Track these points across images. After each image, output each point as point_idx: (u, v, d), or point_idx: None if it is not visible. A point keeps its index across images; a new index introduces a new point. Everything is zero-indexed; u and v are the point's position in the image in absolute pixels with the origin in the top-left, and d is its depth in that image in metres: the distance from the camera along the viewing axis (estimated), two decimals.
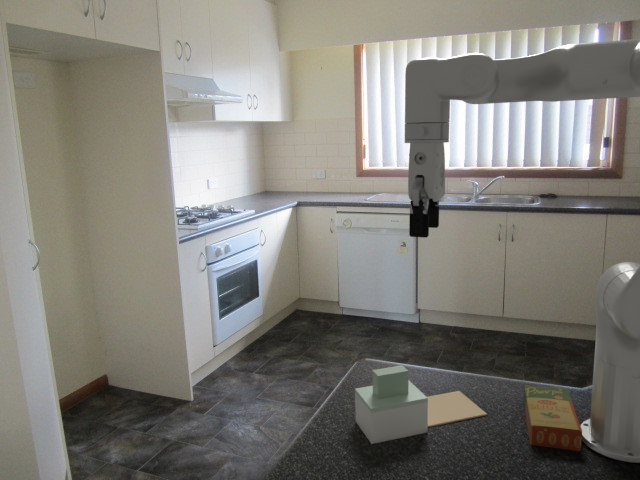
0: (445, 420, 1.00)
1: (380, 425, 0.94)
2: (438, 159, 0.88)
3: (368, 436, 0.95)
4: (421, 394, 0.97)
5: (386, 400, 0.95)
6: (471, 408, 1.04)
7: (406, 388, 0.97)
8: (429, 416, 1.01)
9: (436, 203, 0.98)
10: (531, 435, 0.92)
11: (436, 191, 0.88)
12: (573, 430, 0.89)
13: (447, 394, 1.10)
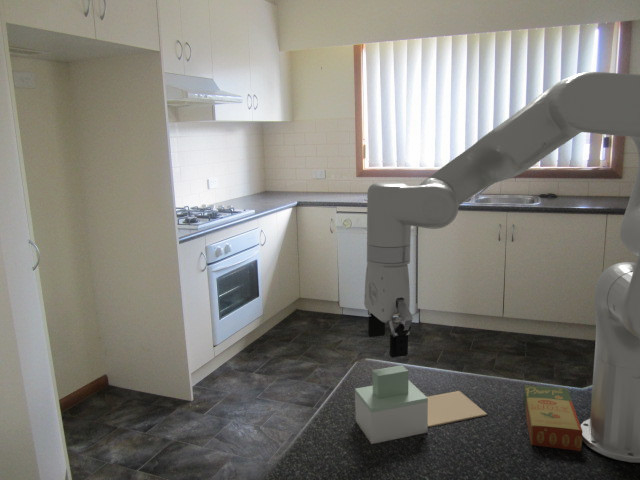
0: (445, 420, 1.00)
1: (380, 425, 0.94)
2: (367, 273, 0.96)
3: (368, 436, 0.95)
4: (421, 394, 0.97)
5: (386, 400, 0.95)
6: (471, 408, 1.04)
7: (406, 388, 0.97)
8: (429, 416, 1.01)
9: None
10: (531, 435, 0.92)
11: (365, 299, 0.98)
12: (573, 429, 0.89)
13: (447, 394, 1.10)
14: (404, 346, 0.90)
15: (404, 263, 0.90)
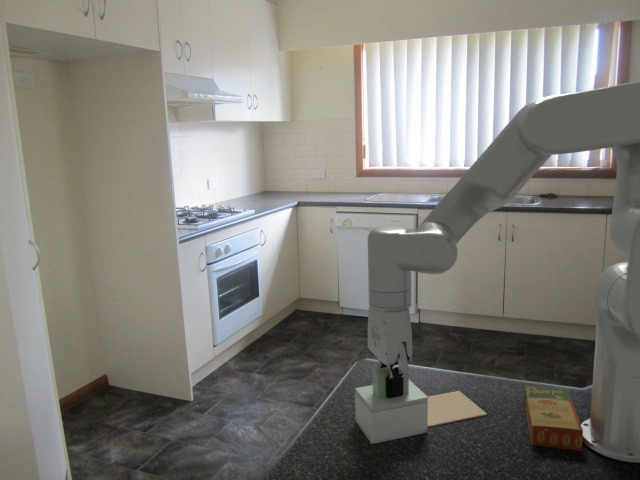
0: (445, 420, 1.00)
1: (380, 425, 0.94)
2: (369, 315, 0.97)
3: (368, 436, 0.95)
4: (421, 393, 0.97)
5: (386, 399, 0.95)
6: (471, 408, 1.04)
7: (406, 387, 0.97)
8: (429, 416, 1.01)
9: None
10: (532, 435, 0.92)
11: (368, 340, 0.99)
12: (574, 429, 0.89)
13: (447, 394, 1.10)
14: (399, 387, 0.95)
15: (405, 307, 0.91)
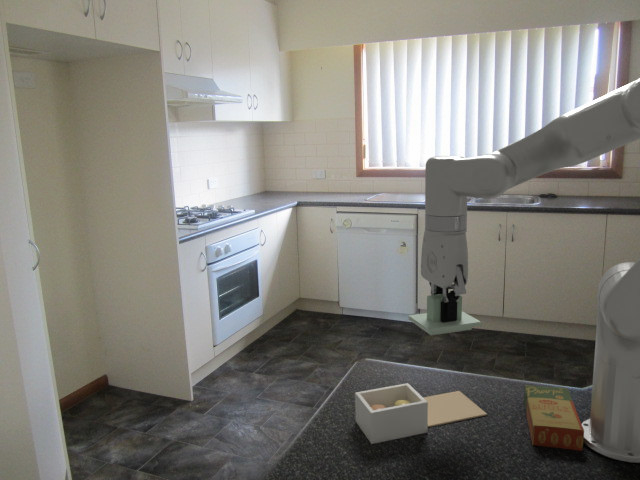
0: (445, 420, 1.00)
1: (380, 425, 0.94)
2: (424, 243, 1.01)
3: (368, 436, 0.95)
4: (474, 319, 1.00)
5: (441, 323, 0.99)
6: (471, 408, 1.04)
7: (459, 313, 1.00)
8: (429, 416, 1.01)
9: None
10: (533, 435, 0.91)
11: (421, 269, 1.03)
12: (575, 429, 0.89)
13: (447, 394, 1.10)
14: (454, 312, 0.98)
15: (462, 232, 0.95)
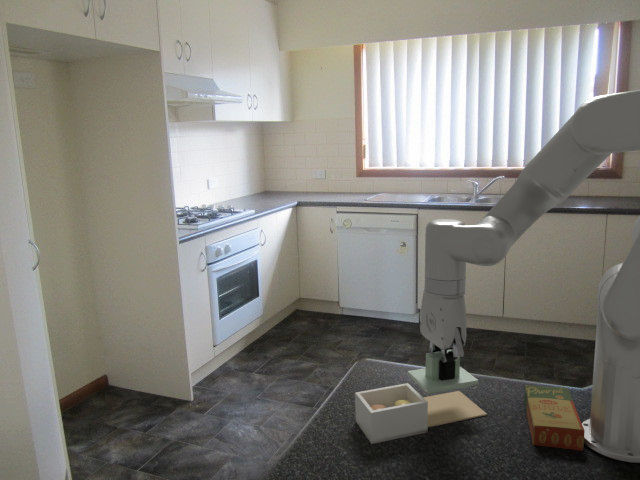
0: (445, 420, 1.00)
1: (380, 425, 0.94)
2: (423, 302, 1.03)
3: (368, 436, 0.95)
4: (471, 377, 1.03)
5: (439, 381, 1.01)
6: (471, 408, 1.04)
7: (457, 371, 1.03)
8: (429, 416, 1.01)
9: None
10: (534, 435, 0.91)
11: (420, 326, 1.05)
12: (575, 429, 0.89)
13: (447, 394, 1.10)
14: (452, 370, 1.01)
15: (461, 294, 0.97)
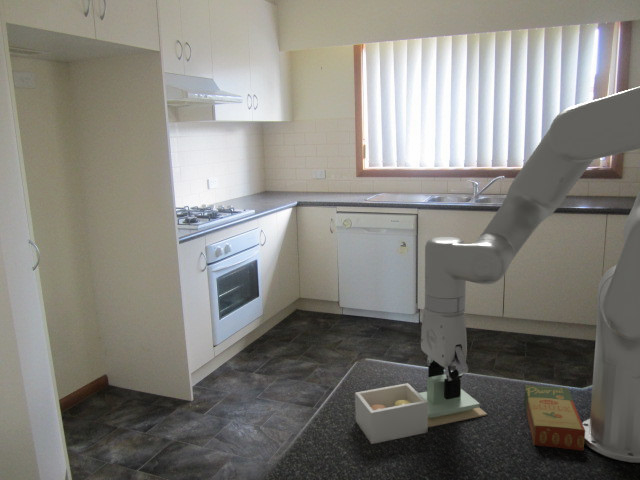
0: (445, 420, 1.00)
1: (380, 425, 0.94)
2: (424, 319, 1.04)
3: (368, 436, 0.95)
4: (473, 400, 1.03)
5: (441, 405, 1.02)
6: None
7: None
8: None
9: None
10: (534, 435, 0.91)
11: (421, 342, 1.06)
12: (576, 429, 0.89)
13: None
14: (457, 389, 1.00)
15: (461, 312, 0.98)
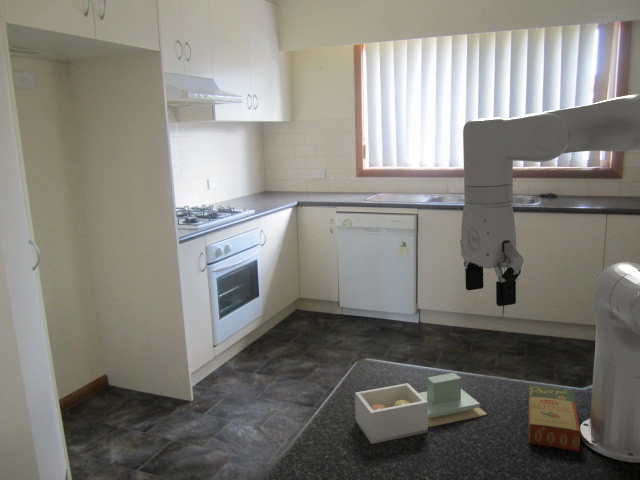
0: (445, 420, 1.00)
1: (380, 425, 0.94)
2: (464, 219, 0.89)
3: (368, 436, 0.95)
4: (473, 400, 1.03)
5: (441, 405, 1.02)
6: None
7: (459, 394, 1.04)
8: None
9: None
10: (529, 433, 0.92)
11: (461, 249, 0.91)
12: (571, 430, 0.89)
13: None
14: (512, 293, 0.83)
15: (508, 203, 0.83)
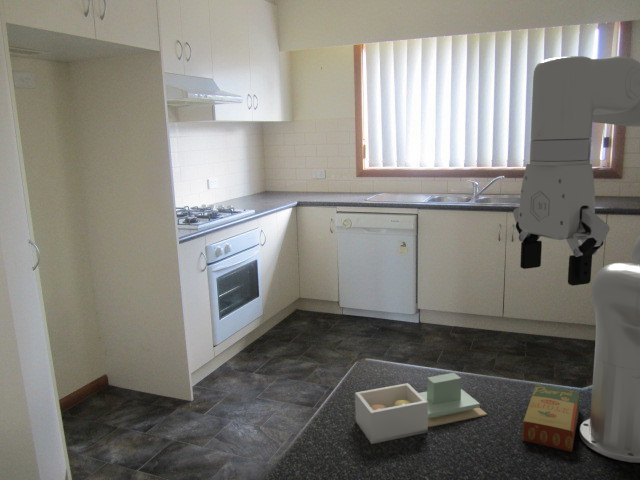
0: (445, 420, 1.00)
1: (380, 425, 0.94)
2: (526, 183, 0.75)
3: (368, 436, 0.95)
4: (473, 400, 1.03)
5: (441, 405, 1.02)
6: None
7: (459, 394, 1.04)
8: None
9: None
10: (523, 431, 0.93)
11: (520, 218, 0.77)
12: (564, 429, 0.90)
13: None
14: (589, 270, 0.69)
15: (587, 161, 0.69)
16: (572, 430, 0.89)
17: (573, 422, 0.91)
